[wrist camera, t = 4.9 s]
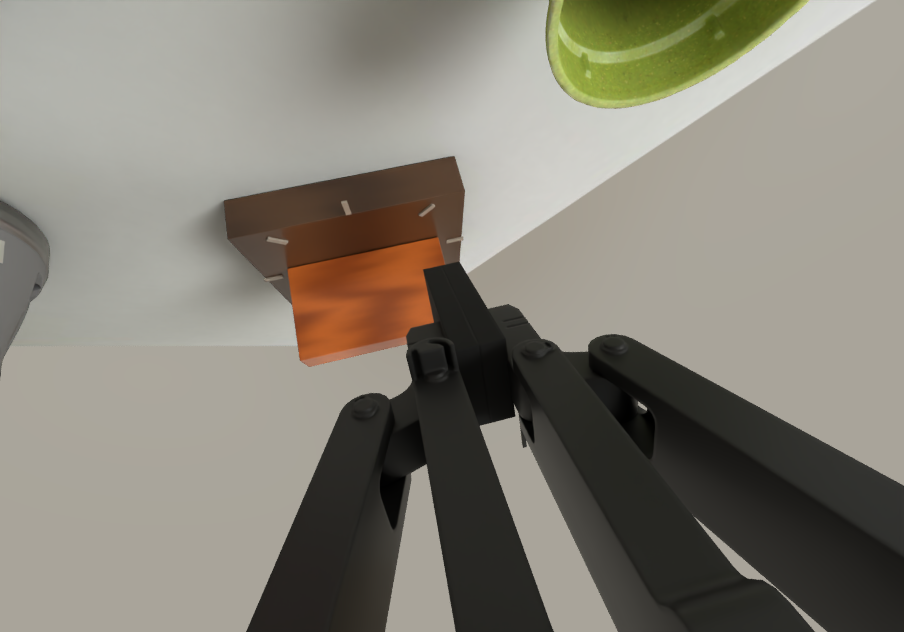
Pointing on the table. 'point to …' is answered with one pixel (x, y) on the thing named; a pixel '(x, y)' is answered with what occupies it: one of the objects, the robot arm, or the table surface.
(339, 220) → the dial panel
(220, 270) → the table surface
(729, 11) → the plant pot
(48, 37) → the table surface
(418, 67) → the table surface
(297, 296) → the pointer
